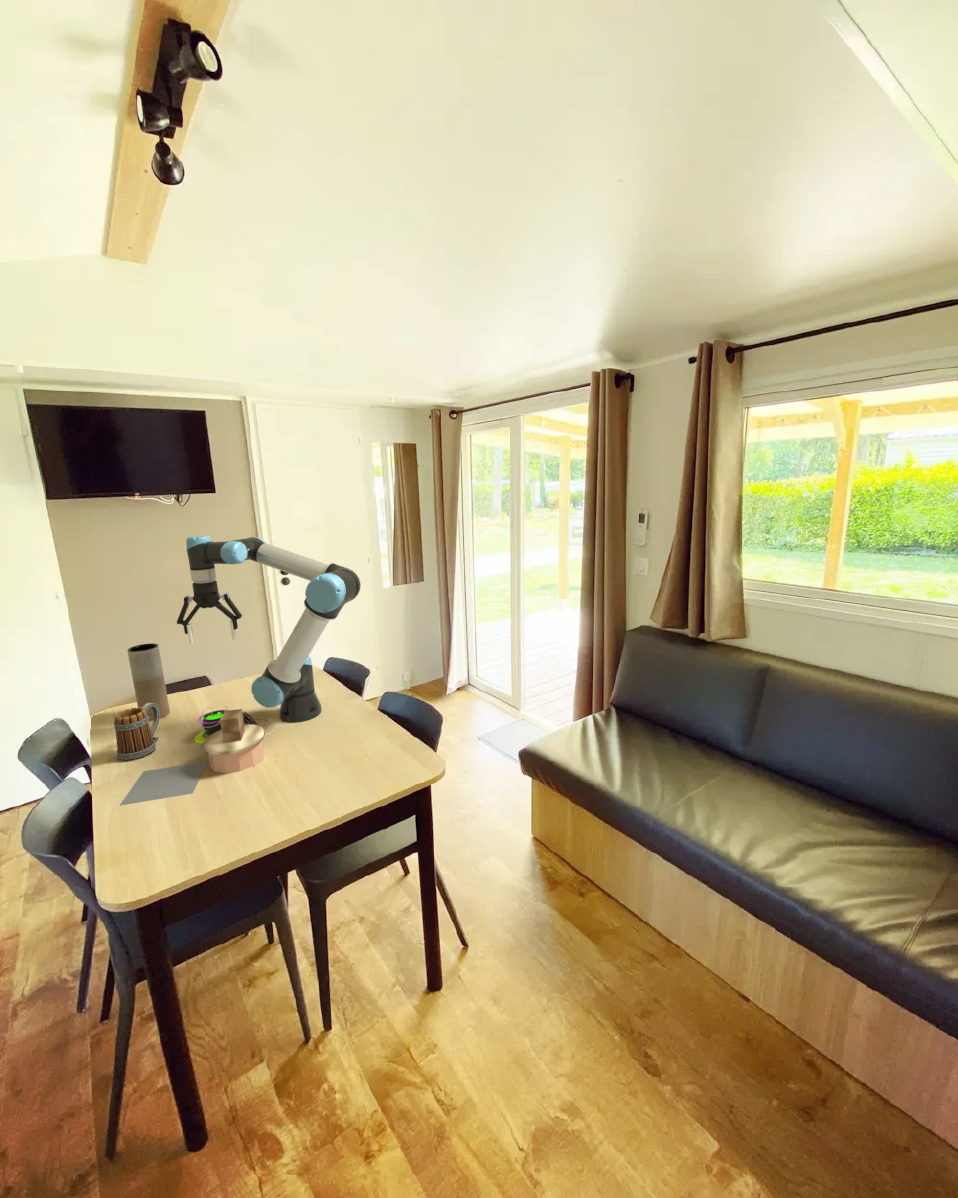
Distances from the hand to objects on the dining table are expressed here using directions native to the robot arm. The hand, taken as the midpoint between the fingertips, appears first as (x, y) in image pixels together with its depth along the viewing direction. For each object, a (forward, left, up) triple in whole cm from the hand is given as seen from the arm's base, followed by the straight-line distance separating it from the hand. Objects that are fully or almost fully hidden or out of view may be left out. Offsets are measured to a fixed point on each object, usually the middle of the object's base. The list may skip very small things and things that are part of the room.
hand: (213, 640), depth 177 cm
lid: (-9, +29, -26) cm, 40 cm away
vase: (+29, -20, -33) cm, 48 cm away
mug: (+23, +11, -33) cm, 42 cm away
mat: (+9, +36, -33) cm, 49 cm away
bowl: (-9, +29, -33) cm, 45 cm away
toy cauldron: (+1, +6, -33) cm, 34 cm away
